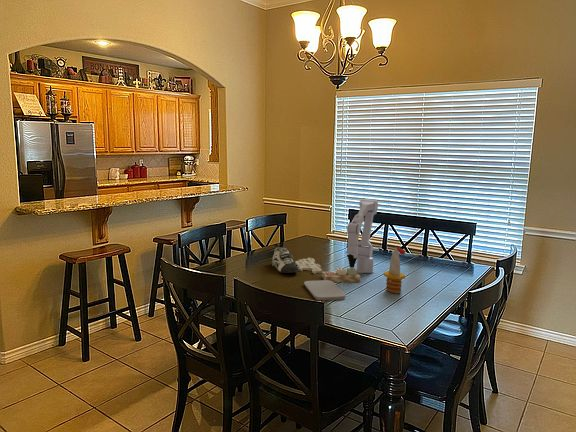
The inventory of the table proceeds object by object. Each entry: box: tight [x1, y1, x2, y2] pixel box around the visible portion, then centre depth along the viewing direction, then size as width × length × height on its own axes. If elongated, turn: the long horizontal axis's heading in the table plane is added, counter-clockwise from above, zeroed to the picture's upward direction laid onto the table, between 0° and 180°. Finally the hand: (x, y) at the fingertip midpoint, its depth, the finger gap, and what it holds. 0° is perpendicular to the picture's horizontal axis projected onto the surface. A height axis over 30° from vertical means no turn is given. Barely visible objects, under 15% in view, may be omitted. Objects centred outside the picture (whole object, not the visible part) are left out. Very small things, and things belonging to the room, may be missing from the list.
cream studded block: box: [336, 267, 347, 275], centre depth 249 cm, size 4×4×3 cm
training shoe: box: [271, 247, 299, 274], centre depth 265 cm, size 11×29×13 cm, turn 25°
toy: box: [383, 246, 406, 294], centre depth 228 cm, size 9×24×15 cm
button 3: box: [325, 271, 335, 275], centre depth 249 cm, size 4×4×3 cm
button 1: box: [346, 267, 357, 275], centre depth 250 cm, size 4×4×3 cm
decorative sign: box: [294, 257, 323, 275], centre depth 273 cm, size 31×2×15 cm
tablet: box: [303, 279, 347, 301], centre depth 228 cm, size 16×26×2 cm, turn 13°
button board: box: [321, 270, 361, 283], centre depth 250 cm, size 20×10×3 cm, turn 97°
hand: (351, 267), depth 250 cm, fingers closed
